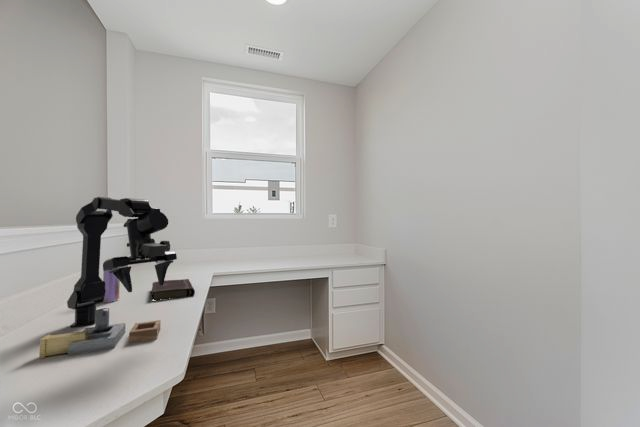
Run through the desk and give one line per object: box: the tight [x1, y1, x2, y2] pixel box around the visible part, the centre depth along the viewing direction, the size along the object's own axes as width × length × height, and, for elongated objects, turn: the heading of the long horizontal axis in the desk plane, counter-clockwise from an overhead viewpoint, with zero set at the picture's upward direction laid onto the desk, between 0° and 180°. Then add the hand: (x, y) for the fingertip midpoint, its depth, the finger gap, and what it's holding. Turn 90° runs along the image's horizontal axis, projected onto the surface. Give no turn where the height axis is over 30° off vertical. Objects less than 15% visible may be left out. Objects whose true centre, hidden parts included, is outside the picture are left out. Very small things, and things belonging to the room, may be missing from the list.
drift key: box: [38, 330, 88, 359], centre depth 73 cm, size 3×9×5 cm, turn 114°
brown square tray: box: [128, 319, 161, 344], centre depth 83 cm, size 8×7×3 cm
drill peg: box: [94, 307, 110, 333], centre depth 80 cm, size 3×3×9 cm
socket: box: [67, 322, 126, 356], centre depth 78 cm, size 12×10×3 cm
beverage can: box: [102, 270, 121, 303], centre depth 122 cm, size 6×6×15 cm
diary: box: [150, 278, 196, 301], centre depth 135 cm, size 19×25×5 cm
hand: (146, 288), depth 80 cm, fingers open, 9 cm apart
